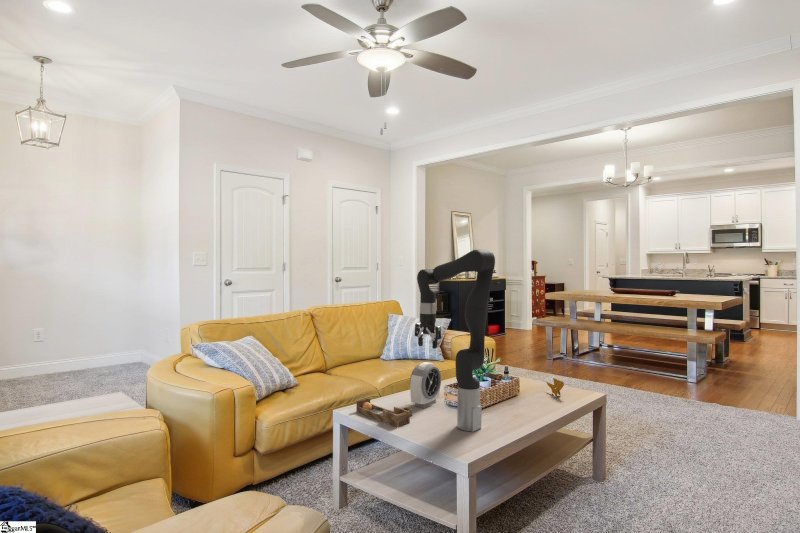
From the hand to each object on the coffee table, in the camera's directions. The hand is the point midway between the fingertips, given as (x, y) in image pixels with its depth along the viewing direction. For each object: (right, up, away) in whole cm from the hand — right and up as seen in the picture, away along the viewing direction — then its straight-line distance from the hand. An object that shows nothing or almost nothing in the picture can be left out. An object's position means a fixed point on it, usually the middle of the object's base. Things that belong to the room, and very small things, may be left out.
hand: (427, 347), depth 207 cm
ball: (-28, -28, -1) cm, 39 cm away
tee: (-10, -30, -5) cm, 32 cm away
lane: (-21, -30, -7) cm, 37 cm away
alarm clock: (0, -30, +12) cm, 32 cm away
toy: (+69, -31, +29) cm, 81 cm away
